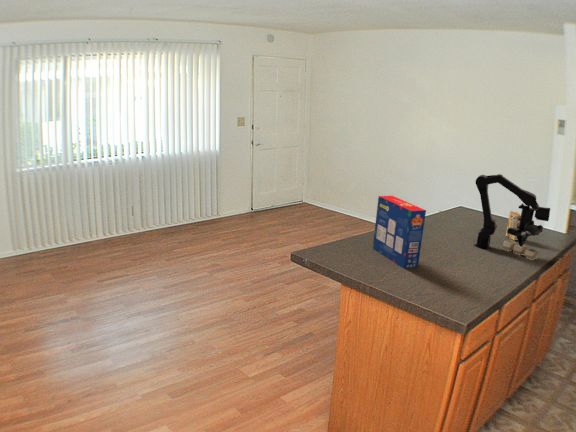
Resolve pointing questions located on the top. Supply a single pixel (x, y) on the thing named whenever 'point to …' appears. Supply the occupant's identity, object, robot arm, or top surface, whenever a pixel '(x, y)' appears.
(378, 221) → the blue toy box
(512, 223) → the candy box
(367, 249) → the top surface
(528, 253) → the three mark block
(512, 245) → the two mark block
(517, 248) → the plain block
